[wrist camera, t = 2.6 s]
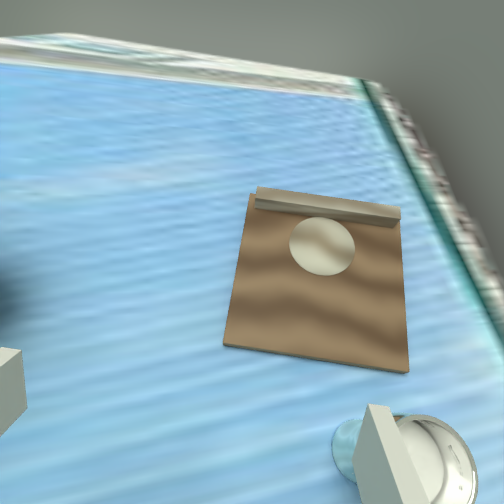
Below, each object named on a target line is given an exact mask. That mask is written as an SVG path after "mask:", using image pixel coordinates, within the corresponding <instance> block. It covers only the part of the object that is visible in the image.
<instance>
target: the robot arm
mask: <svg viewBox="0 0 504 504" xmlns="http://www.w3.org/2000/svg"><path fill="white" fill-rule="evenodd" d="M26 409H27V400H26V390H25V380H24V370H23V360H22V350H18V349H12V348H5V347H1V348H0V436H1V435H2V434H3V433H4V432H5V431H6V430H7V429H8V428H9V427H10V426H11V425H12V424H13V423H14V422H15V421H16V420H17V419H18V418H19V416H20V415H21V414H22V413H23V412H24V411H25V410H26ZM352 464H353V468H354V472H355V476H356V481H357V485H358V489H359V493H360V497H361V502H362V504H430V502H429V500H428V497H427V495H426V493H425V490H424V488H423V486H422V483H421V481H420V479H419V476H418V474H417V472H416V469H415V467H414V465H413V462H412V460H411V458H410V455H409V453H408V451H407V448H406V446H405V444H404V441H403V439H402V437H401V434H400V432H399V430H398V427H397V425H396V423H395V420H394V418H393V416H392V413H391V411H390V409H389V407H387V406H381V405H374V404H368V405H367V408H366V412H365V415H364V419H363V422H362V426H361V429H360V432H359V436H358V439H357V443H356V446H355V450H354V453H353V457H352Z"/></svg>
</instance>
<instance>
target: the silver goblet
mask: <svg viewBox="0 0 504 504" xmlns="http://www.w3.org/2000/svg"><path fill="white" fill-rule="evenodd" d="M392 416H393V418H394V420H395V423H396V425H397V427H398V430H399V432H400V434H401V437H402V439H403V441H404V444H405V446H406V448H407V451H408V453H409V455H410V458H411V460H412V462H413V465H414V467H415V469H416V472H417V474H418V476H419V479H420V481H421V483H422V486H423V488H424V490H425V493H426V495H427V497H428V500H429V502H430V504H474V503H475V500H476V497H477V492H478V475H477V469H476V465H475V462H474V459H473V456H472V454H471V452H470V450H469V448H468V446H467V445H466V443H465V442H464V440H463V439H462V438H461V437H460V435H459V434H458V433H457V432H456V431H455V430H454V429H453V428H452V427H450V426H449V425H448V424H446V423H445V422H443V421H441V420H439V419H437V418H435V417H432V416H428V415H421V414H411V413H392ZM362 422H363V420H360V419H352V420H348V421H346V422H344V423H343V424H341V425H340V426H339V428H338V429H337V430H336V432H335V434H334V437H333V441H332V453H333V458H334V461H335V463H336V465H337V467H338V469H339V470H340V472H341V473H342V474H343V475H344V476H345V477H346V478H348V479H349V480H351V481H352V482H355V483H357V481H356V476H355V472H354V468H353V464H352V457H353V453H354V450H355V446H356V443H357V439H358V436H359V432H360V429H361V426H362Z"/></svg>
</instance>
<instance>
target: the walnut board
mask: <svg viewBox="0 0 504 504" xmlns="http://www.w3.org/2000/svg"><path fill="white" fill-rule="evenodd" d="M400 219H401V213H400V207H398V206H391V205H384V204H377V203H370V202H363V201H356V200H349V199H342V198H335V197H328V196H321V195H314V194H307V193H300V192H293V191H286V190H279V189H272V188H265V187H258V186H257V191H256V194H252V193H250V197H249V202H248V208H247V213H246V219H245V224H244V229H243V235H242V240H241V246H240V251H239V257H238V262H237V268H236V273H235V279H234V284H233V289H232V295H231V300H230V306H229V311H228V317H227V322H226V328H225V333H224V338H223V345H225V346H231V347H238V348H244V349H250V350H257V351H263V352H269V353H276V354H282V355H288V356H295V357H301V358H307V359H314V360H320V361H327V362H333V363H339V364H346V365H352V366H358V367H365V368H371V369H377V370H384V371H390V372H396V373H403V374H404V373H408V372H409V357H408V342H407V326H406V311H405V295H404V280H403V265H402V249H401V234H400Z"/></svg>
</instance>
